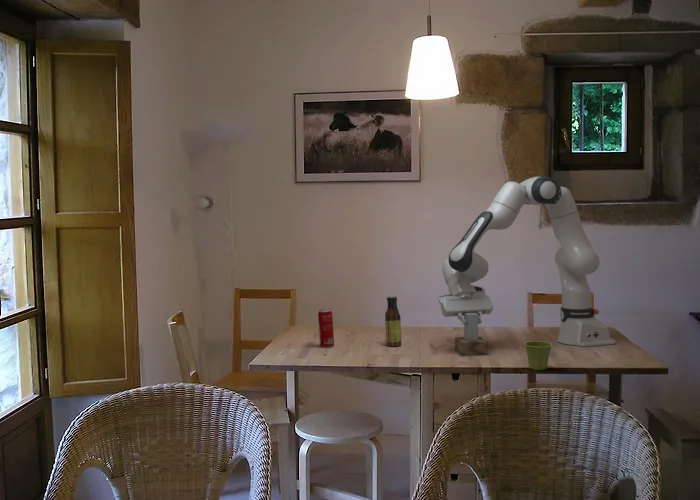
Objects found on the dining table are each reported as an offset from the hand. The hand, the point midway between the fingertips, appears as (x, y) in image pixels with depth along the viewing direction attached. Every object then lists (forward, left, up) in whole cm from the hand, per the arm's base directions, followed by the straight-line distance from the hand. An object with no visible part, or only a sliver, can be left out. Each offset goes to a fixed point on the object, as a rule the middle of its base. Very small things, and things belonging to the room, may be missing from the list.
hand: (472, 323), depth 278 cm
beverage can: (+54, -22, -12) cm, 60 cm away
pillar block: (0, -1, -7) cm, 7 cm away
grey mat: (0, -1, -12) cm, 12 cm away
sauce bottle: (+27, -20, -12) cm, 36 cm away
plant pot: (-17, +25, -12) cm, 32 cm away
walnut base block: (0, -1, -12) cm, 12 cm away
